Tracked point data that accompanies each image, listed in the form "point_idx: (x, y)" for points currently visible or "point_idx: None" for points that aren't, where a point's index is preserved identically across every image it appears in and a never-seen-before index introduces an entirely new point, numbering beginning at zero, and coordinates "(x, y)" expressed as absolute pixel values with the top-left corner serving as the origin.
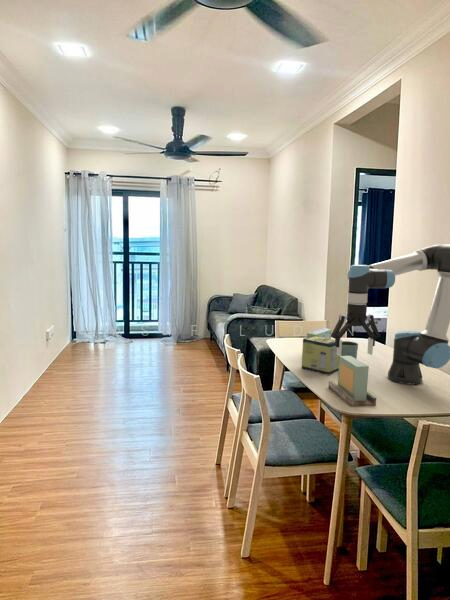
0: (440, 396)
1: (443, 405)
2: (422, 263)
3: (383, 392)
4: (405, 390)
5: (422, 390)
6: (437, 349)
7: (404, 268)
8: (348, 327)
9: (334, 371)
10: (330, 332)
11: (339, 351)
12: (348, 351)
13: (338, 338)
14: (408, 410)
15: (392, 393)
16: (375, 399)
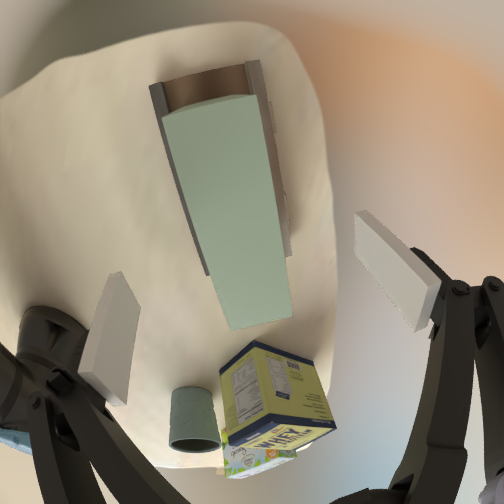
0: None
1: None
2: None
3: (103, 230)
4: (46, 260)
5: (13, 268)
6: None
7: None
8: (443, 436)
9: (233, 360)
10: (228, 471)
11: (383, 226)
12: (194, 424)
13: (465, 285)
14: (58, 76)
15: (78, 226)
16: (152, 84)
